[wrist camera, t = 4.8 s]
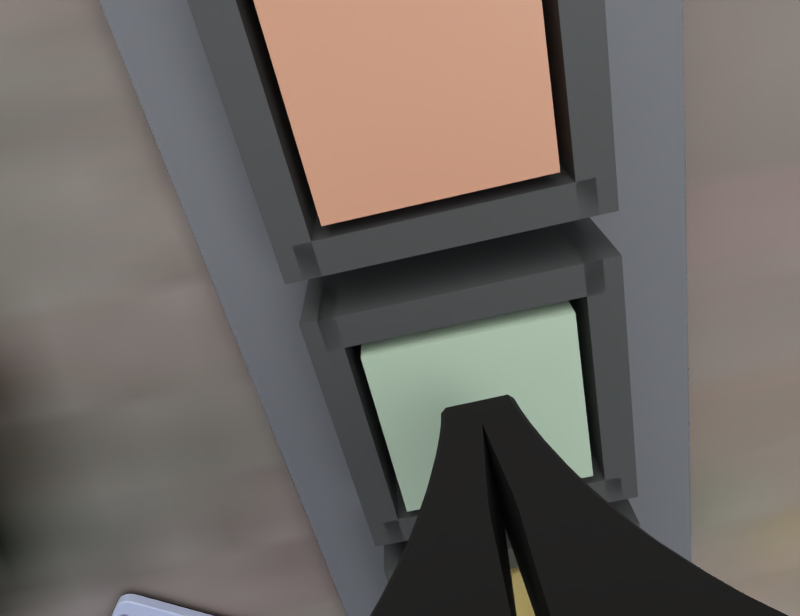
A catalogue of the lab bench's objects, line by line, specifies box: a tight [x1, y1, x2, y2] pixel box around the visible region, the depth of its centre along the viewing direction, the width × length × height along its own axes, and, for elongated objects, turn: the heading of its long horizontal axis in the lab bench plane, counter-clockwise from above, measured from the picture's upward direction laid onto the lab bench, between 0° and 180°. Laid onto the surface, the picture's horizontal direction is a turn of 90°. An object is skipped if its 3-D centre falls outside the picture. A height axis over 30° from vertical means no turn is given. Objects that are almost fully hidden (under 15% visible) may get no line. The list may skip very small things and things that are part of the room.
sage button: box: [361, 301, 593, 512], centre depth 16 cm, size 5×5×2 cm
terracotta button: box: [253, 0, 560, 226], centre depth 13 cm, size 5×5×2 cm
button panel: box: [99, 0, 691, 616], centre depth 18 cm, size 24×12×5 cm, turn 13°
